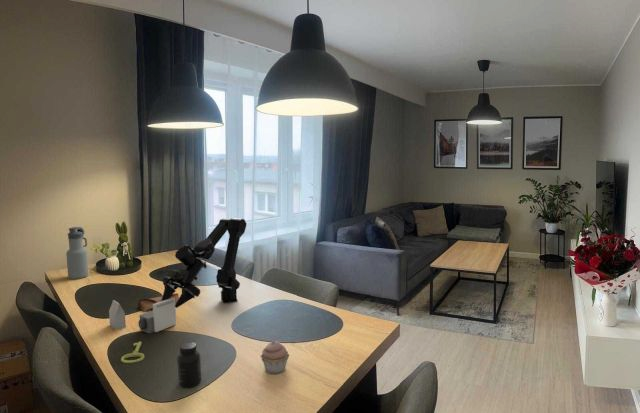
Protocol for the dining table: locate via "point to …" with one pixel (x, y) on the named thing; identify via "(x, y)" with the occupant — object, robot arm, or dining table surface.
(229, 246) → the robot arm
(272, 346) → the cupcake
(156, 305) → the side door
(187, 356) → the supplement bottle
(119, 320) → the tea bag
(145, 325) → the grey rectangular block
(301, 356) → the dining table surface
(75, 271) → the water bottle
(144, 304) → the sunglasses case
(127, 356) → the key
